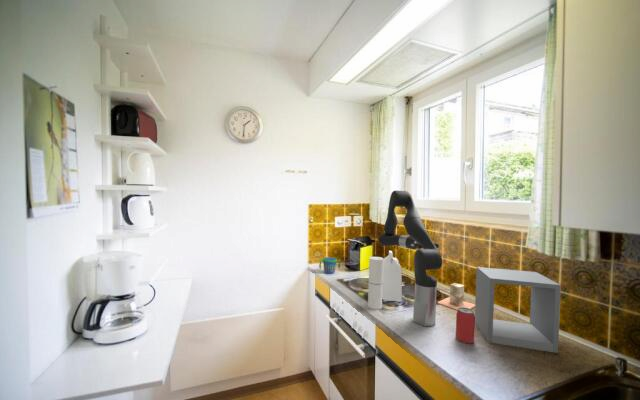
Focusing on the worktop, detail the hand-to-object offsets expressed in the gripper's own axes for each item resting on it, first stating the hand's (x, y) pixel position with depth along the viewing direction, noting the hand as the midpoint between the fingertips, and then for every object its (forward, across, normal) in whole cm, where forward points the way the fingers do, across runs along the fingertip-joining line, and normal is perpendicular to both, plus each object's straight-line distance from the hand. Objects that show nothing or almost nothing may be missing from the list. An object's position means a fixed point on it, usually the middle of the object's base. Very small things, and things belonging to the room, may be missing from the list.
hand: (434, 246), depth 144 cm
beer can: (+28, -27, +30) cm, 49 cm away
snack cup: (-72, -14, +30) cm, 79 cm away
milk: (-17, -16, +30) cm, 38 cm away
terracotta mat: (+10, +6, +30) cm, 32 cm away
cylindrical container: (-14, -32, +30) cm, 46 cm away
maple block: (+10, +6, +29) cm, 32 cm away
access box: (+39, -8, +30) cm, 50 cm away
